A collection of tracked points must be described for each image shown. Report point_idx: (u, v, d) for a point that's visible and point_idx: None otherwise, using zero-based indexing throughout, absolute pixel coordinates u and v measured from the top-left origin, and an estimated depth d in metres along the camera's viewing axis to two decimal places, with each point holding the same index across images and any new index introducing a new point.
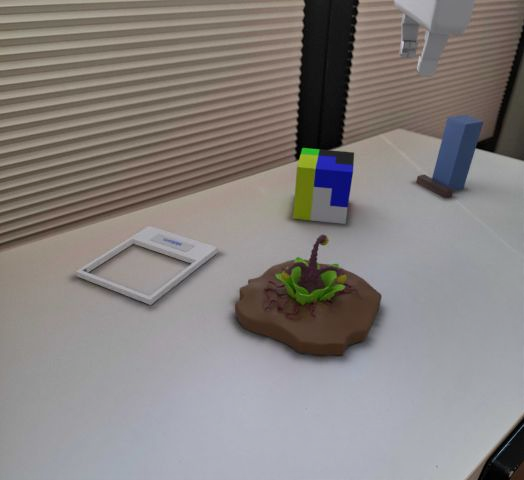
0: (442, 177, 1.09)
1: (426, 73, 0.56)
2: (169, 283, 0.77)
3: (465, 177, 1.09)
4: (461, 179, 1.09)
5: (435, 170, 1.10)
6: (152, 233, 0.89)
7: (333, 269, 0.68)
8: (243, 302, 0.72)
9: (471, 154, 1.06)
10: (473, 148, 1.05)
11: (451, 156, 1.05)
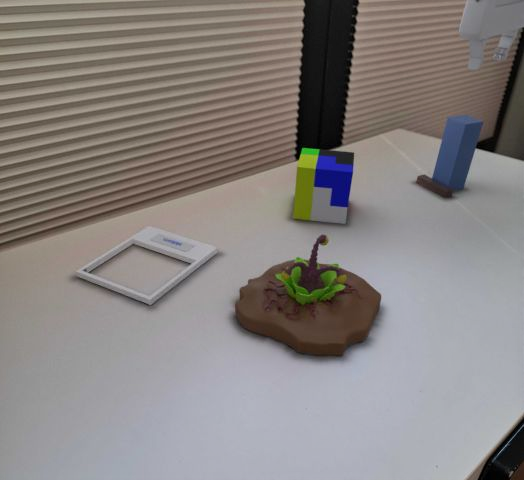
0: (442, 177, 1.09)
1: (472, 67, 0.81)
2: (169, 283, 0.77)
3: (465, 177, 1.09)
4: (461, 179, 1.09)
5: (435, 170, 1.10)
6: (152, 233, 0.89)
7: (333, 269, 0.68)
8: (243, 302, 0.72)
9: (471, 154, 1.06)
10: (473, 148, 1.05)
11: (451, 156, 1.05)
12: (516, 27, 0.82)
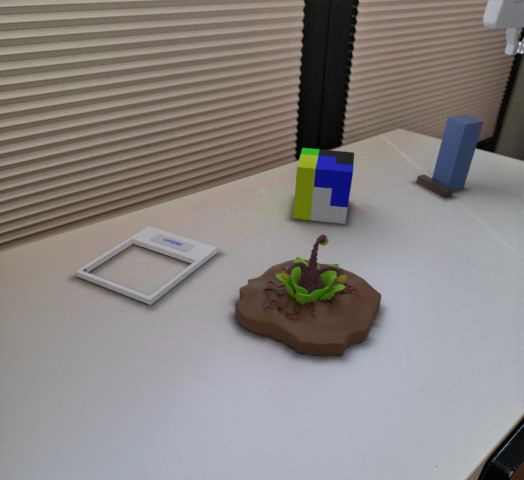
0: (442, 177, 1.09)
1: (507, 52, 0.97)
2: (169, 283, 0.77)
3: (465, 177, 1.09)
4: (461, 179, 1.09)
5: (435, 170, 1.10)
6: (152, 233, 0.89)
7: (333, 269, 0.68)
8: (243, 302, 0.72)
9: (471, 154, 1.06)
10: (473, 148, 1.05)
11: (451, 156, 1.05)
12: None
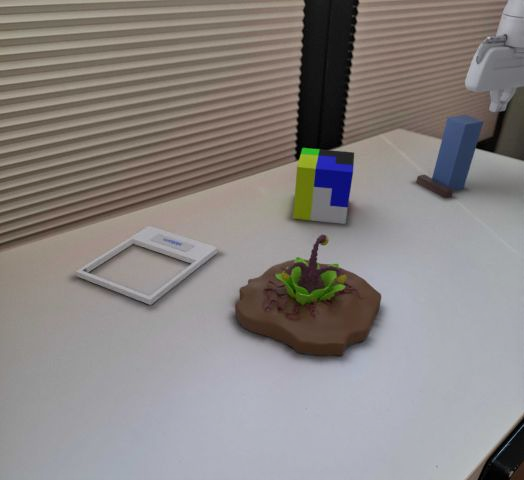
0: (442, 177, 1.09)
1: (492, 109, 1.05)
2: (169, 283, 0.77)
3: (465, 177, 1.09)
4: (461, 179, 1.09)
5: (435, 170, 1.10)
6: (152, 233, 0.89)
7: (333, 269, 0.68)
8: (243, 302, 0.72)
9: (471, 154, 1.06)
10: (473, 148, 1.05)
11: (451, 156, 1.05)
12: None
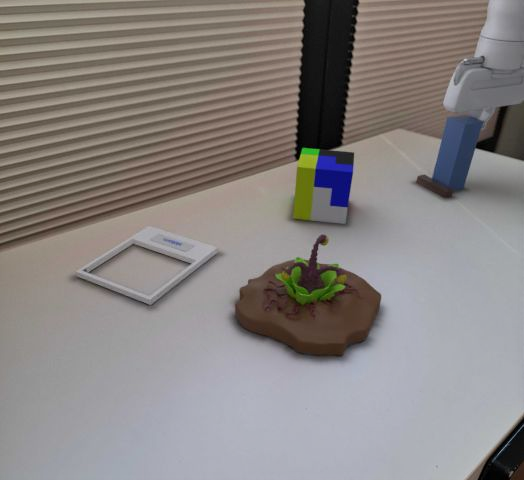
0: (442, 177, 1.09)
1: None
2: (169, 283, 0.77)
3: (465, 177, 1.09)
4: (461, 179, 1.09)
5: (435, 170, 1.10)
6: (152, 233, 0.89)
7: (333, 269, 0.68)
8: (243, 302, 0.72)
9: (471, 154, 1.06)
10: (473, 148, 1.05)
11: (451, 156, 1.05)
12: (503, 104, 1.03)
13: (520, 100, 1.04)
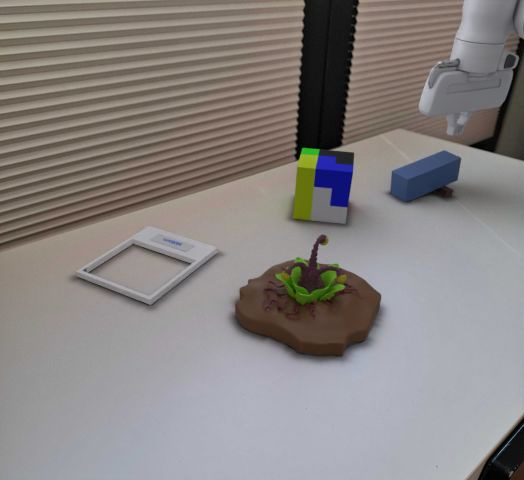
0: None
1: (449, 133, 1.03)
2: (169, 283, 0.77)
3: (451, 163, 1.04)
4: (451, 168, 1.05)
5: None
6: (152, 233, 0.89)
7: (333, 269, 0.68)
8: (243, 302, 0.72)
9: (432, 172, 1.03)
10: (428, 174, 1.03)
11: None
12: (480, 108, 1.00)
13: (498, 103, 1.02)
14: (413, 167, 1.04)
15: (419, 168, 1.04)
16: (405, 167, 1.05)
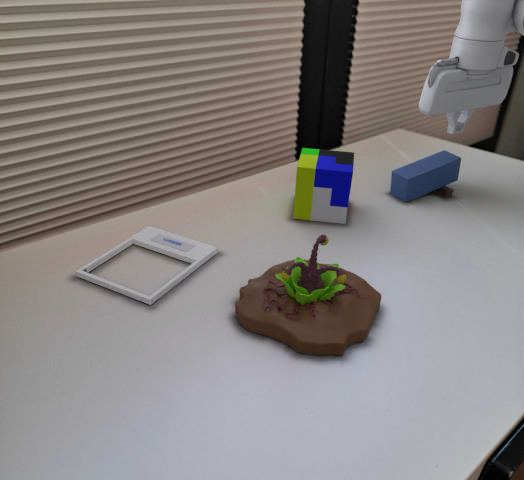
0: None
1: (449, 131, 1.02)
2: (169, 283, 0.77)
3: (451, 163, 1.04)
4: (451, 168, 1.05)
5: None
6: (152, 233, 0.89)
7: (333, 269, 0.68)
8: (243, 302, 0.72)
9: (432, 172, 1.03)
10: (428, 174, 1.03)
11: None
12: (481, 106, 0.99)
13: (499, 101, 1.01)
14: (413, 167, 1.04)
15: (419, 168, 1.04)
16: (405, 167, 1.05)
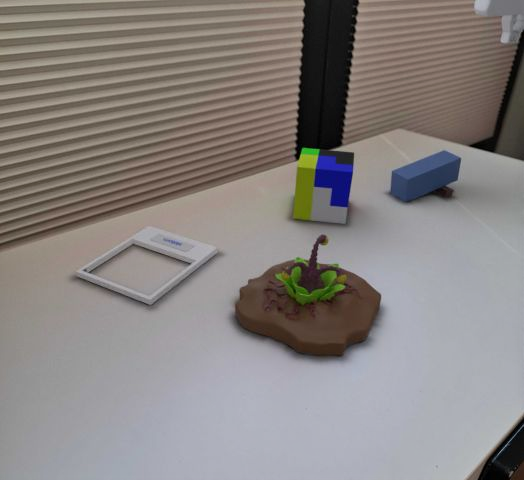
0: None
1: (503, 40, 0.95)
2: (169, 283, 0.77)
3: (451, 163, 1.04)
4: (451, 168, 1.05)
5: None
6: (152, 233, 0.89)
7: (333, 269, 0.68)
8: (243, 302, 0.72)
9: (432, 172, 1.03)
10: (428, 174, 1.03)
11: None
12: None
13: None
14: (413, 167, 1.04)
15: (419, 168, 1.04)
16: (405, 167, 1.05)
